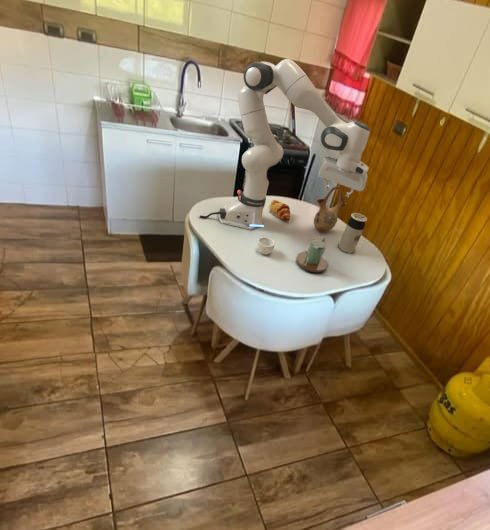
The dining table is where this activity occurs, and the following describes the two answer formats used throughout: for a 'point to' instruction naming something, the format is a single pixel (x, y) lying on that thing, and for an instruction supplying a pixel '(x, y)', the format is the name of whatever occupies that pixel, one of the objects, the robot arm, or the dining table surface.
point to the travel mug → (352, 232)
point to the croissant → (280, 210)
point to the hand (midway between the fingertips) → (336, 193)
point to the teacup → (265, 245)
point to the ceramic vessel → (328, 213)
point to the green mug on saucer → (313, 257)
